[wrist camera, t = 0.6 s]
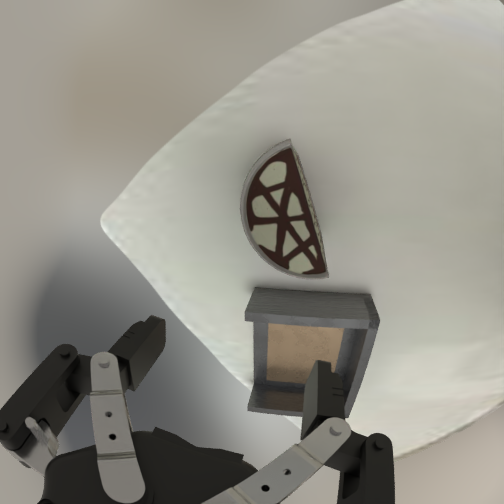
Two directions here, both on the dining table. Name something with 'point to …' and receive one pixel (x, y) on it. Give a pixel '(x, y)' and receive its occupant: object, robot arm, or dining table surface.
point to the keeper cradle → (307, 344)
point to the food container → (283, 215)
